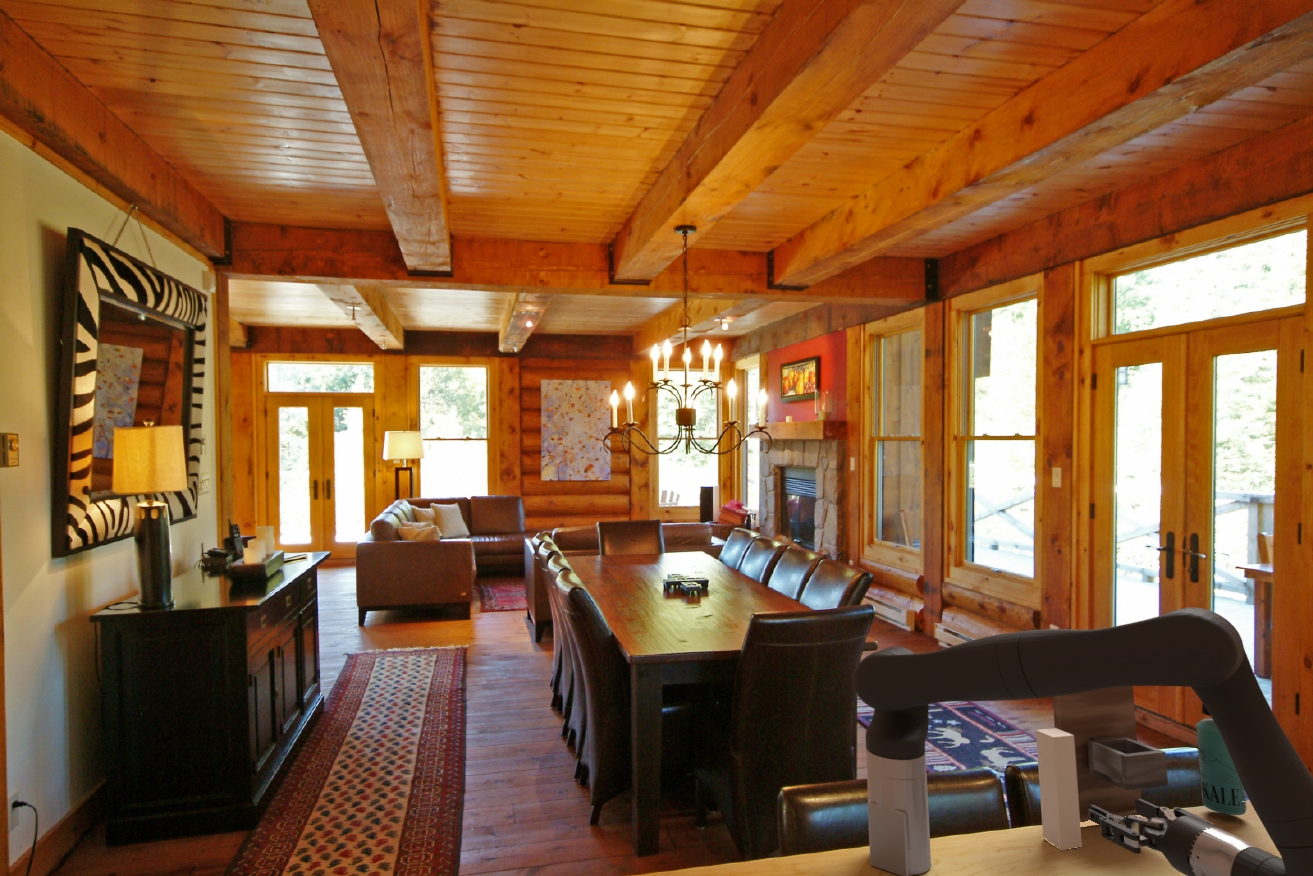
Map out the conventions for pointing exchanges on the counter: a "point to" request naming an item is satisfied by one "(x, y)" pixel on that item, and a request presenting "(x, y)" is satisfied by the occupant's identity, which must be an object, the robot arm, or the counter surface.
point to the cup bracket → (1108, 750)
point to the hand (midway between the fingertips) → (1113, 808)
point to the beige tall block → (1058, 788)
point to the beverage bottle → (1218, 771)
